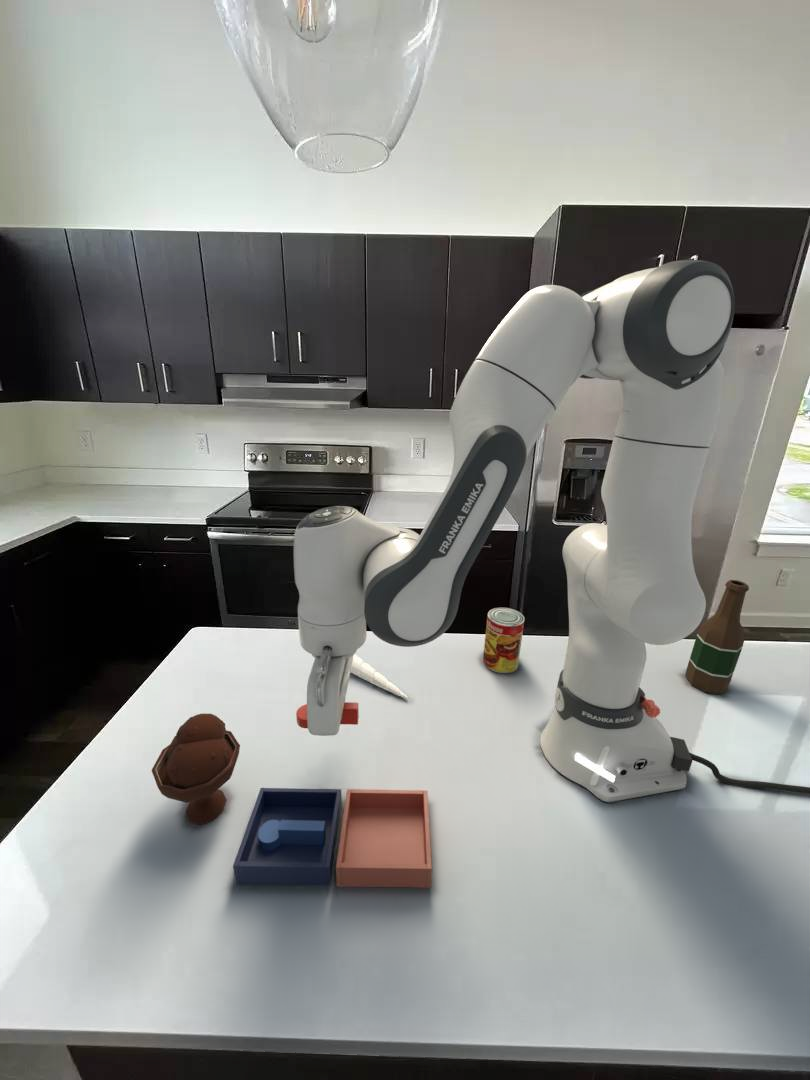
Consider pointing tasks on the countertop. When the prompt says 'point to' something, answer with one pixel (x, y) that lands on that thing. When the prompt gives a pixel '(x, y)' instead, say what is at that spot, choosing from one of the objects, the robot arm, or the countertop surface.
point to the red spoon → (348, 715)
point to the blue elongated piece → (291, 833)
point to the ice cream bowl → (198, 766)
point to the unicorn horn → (373, 676)
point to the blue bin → (290, 860)
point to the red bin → (385, 839)
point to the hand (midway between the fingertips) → (337, 710)
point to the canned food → (503, 639)
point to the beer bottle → (719, 643)
